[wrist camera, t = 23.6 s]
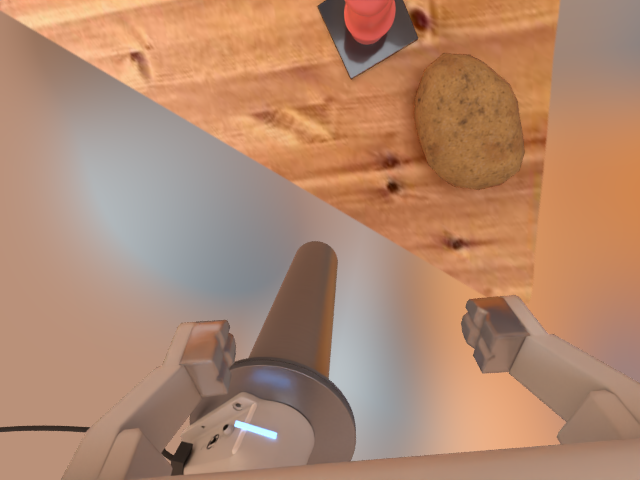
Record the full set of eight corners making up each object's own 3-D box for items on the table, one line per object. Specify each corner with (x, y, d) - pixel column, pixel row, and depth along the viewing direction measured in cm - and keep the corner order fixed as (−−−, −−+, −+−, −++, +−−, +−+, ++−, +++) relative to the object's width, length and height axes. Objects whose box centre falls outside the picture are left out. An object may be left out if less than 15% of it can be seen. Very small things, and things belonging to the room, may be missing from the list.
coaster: (351, 79, 36) (351, 78, 35) (317, 7, 34) (317, 5, 33) (417, 39, 34) (418, 38, 34) (386, -39, 32) (386, -41, 32)
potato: (467, 41, 34) (502, 12, 26) (517, 157, 37) (561, 162, 29) (385, 93, 36) (395, 81, 28) (438, 199, 39) (461, 214, 31)
